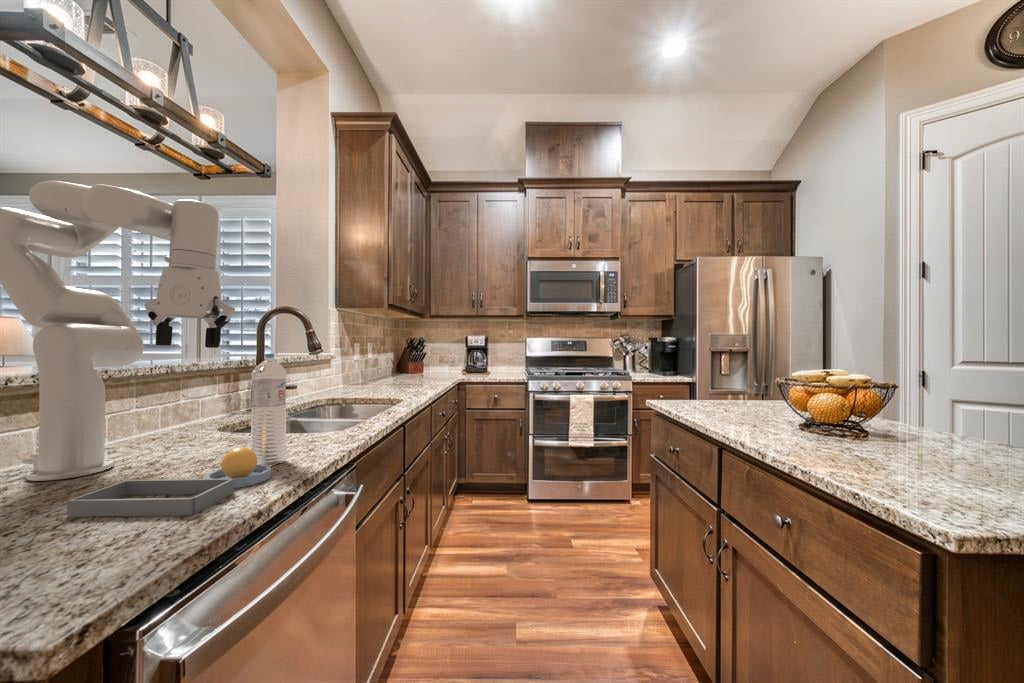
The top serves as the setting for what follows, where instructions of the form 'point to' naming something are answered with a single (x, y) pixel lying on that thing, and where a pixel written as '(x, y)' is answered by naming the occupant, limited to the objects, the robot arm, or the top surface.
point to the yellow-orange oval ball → (239, 462)
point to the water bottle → (269, 412)
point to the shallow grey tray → (110, 505)
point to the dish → (255, 477)
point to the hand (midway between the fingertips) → (187, 346)
